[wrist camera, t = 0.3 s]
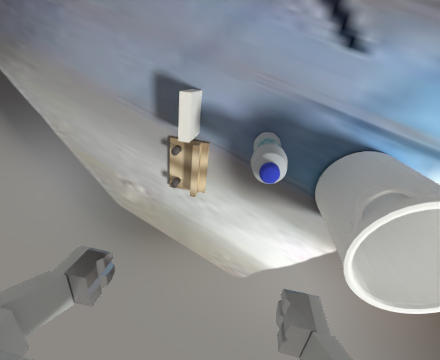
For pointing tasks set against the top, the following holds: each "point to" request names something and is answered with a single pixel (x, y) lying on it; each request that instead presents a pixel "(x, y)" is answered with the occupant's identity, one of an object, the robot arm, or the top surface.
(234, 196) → the top surface
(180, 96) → the white rectangular block
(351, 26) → the top surface
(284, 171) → the bottle
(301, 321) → the robot arm
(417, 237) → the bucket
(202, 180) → the tan pegged board
